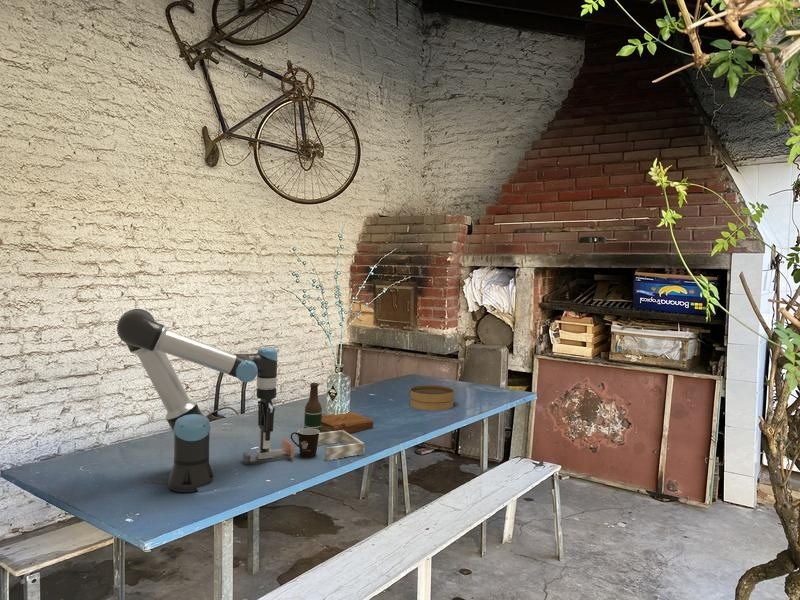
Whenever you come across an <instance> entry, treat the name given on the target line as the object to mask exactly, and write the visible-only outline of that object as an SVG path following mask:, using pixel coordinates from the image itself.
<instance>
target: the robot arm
mask: <svg viewBox="0 0 800 600" xmlns="http://www.w3.org/2000/svg"><path fill="white" fill-rule="evenodd" d="M116 332H117V335H118V337H119V338H120V340H121V341H122V342H123V343H125V345H126V347H127V348H128V350H129V352H130V353H131V354H135V355H137V357H138V358H139V361H140V363H141V364H142V366H143V368H144V370H145V372H146V374H147V376H148V378H149V379H150V381H151V383H152V386H154V387H153V388H154V389H155V391H156V393H157V394H158V396H159V398H160V400H161V402H162V404H163V406H164V408H165V410H166V415H165V420H166V421H167V423H168V426H169V427H170V429H171V431H172V433H173V441H174V442H173V446H174V447H173V465H172V468H171V471H170V473H169V475H168V476H169V477H168V478H167V487H168V489H169V490H170V491H174V492H178V493H196V492H198V491H199V490H198V488H201V487H205V486H207V485H210V484H211V483H213V482H214V479H215V478H214V477H215V476H214V473H213V470H212V467H211V464H210V437H211V436H210V435H211V434H210V433H211V424H210V419H209V418H208V417H207V416H205V415H204V414H203V413H202V411H201V409H200V408H199V405H198V404H197V402H196V401H193V400H191V399H190V398H189V396H188V393H187V392H186V390H185V388H184V386H183V384H182V382H181V381H180V378H179V377H178V375H177V372H176V371H175V368H174V367H173V365H172V363H171V361H170V359H169V357H168V355H170V356H173V357H177V358H179V359H182V360H185V361H188V362H190V363H194V364H197V365H199V366H203V367H205V368H208V369H211V370H214V371H217V372H220V373H221V374H225V375H228V376H231V377H234V378H237V379H238V380H239V381H240V382H243V383H249V382H252V381H254V380H255V379H256V387H257V388H256V398H257V399H259V400H257V410H258V411H257V416H258V417H257V425H258V427H259V443H260V442H261V425H264V431H262V432H263V449H267V448H271V438H272V437H271V432H274V423H275V420H274V418H275V410H276V408H275V406H274V404H273V399H275V398H276V397H277V388H276V387H277V384H278V383H277V381H278V379H279V378H278V377H277V376H278V362H279V359H278V350H277V349H276V348H275V347H259V348H258V349H257V351H256V353H235V352H234V353H232V352H230V351H226V350H223V349H221V348H219V347H216V346H213V345H210V344H207V343H204V342H201V341H199V340H196V339H193V338H191V337H188V336H186V335H183V334H180V333H177V332H174V331H173V330H172V331H171V330H168V328H167V327H166V325H164V324H161V323H160V322H157V321H156V320H155V317H154V316H153V314H151V313H150V312H149V311H148V310H146V309H143V308H142V309H141V308H133V309H129V310H128V311H126V312H124V313H123V314H122V315H121V317H120V318H119V320H118V322H117V325H116Z"/></svg>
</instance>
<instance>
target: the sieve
mask: <svg viewBox="0 0 800 600" xmlns="http://www.w3.org/2000/svg"><path fill="white" fill-rule="evenodd" d="M408 391H409V393H408V395H409V398H410V403H409V404H410V407H411V408H414V409H417V410H421V411H445V410H448V409H451V408H453V407H454V400H455V391H456V390H455V389H453V388H452V387H449V386H445V385H444V386H443V385H436V384H435V385H431V384H424V385H416V386H412V387H410V388H409V390H408Z"/></svg>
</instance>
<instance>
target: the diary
mask: <svg viewBox="0 0 800 600" xmlns="http://www.w3.org/2000/svg"><path fill="white" fill-rule="evenodd" d="M347 412H348V411H347ZM335 414H336V413H332V414H324V415H323V414H322V421H321V433H323V432H331V431H339V430H344V431H345V432H347V433H349V434H350V435H353V434H356V432H357V433H360V431H361V432H362V431H367V430H372V429H373V428H374V420H373V418H369V417H367V416H364V415H361V414H358V413H356V412H352V411H349V412H348V413H346V414H338V415H335ZM352 433H353V434H352Z"/></svg>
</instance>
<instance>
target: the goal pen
mask: <svg viewBox="0 0 800 600" xmlns="http://www.w3.org/2000/svg"><path fill="white" fill-rule="evenodd" d="M337 442H338V443H343V444H342V445H335V446H328V447H325V458H324V459H325V460H324V461H334V460H333V459H335V460H339V459H338V458H342V459H345V458H344V457H348V456H353V455H359V454H364V455H365V451H366V450H365V446H366V445H365V444H366V443H365V442H363V441H362V440H360V439H359V438H357V437H355V436H354V435H353V434H349V433H347V432H345V431H344V430H339V431H331V432H323V433H319V438H318V445H317V446H323V445H324V446H325V445H331V444H337ZM348 458H349V457H348Z"/></svg>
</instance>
